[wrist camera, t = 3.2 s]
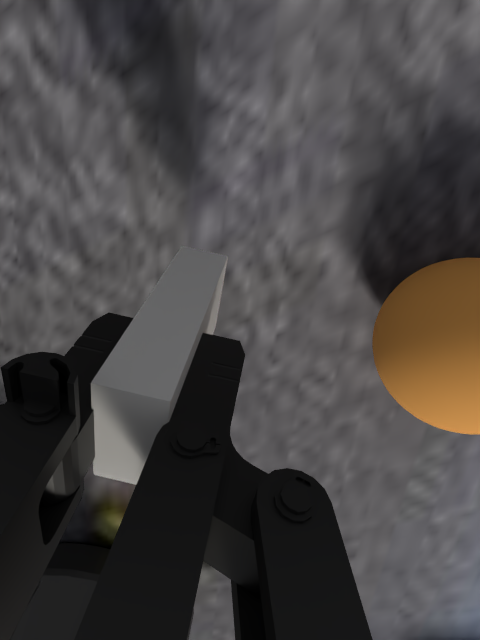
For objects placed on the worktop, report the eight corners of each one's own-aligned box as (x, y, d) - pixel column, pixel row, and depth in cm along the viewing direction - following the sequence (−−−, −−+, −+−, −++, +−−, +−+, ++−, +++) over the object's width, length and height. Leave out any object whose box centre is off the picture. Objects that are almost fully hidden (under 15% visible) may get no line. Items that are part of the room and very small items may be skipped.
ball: (343, 344, 18) (360, 450, 13) (394, 216, 15) (441, 291, 10) (475, 373, 18) (541, 491, 13) (553, 251, 15) (680, 344, 10)
